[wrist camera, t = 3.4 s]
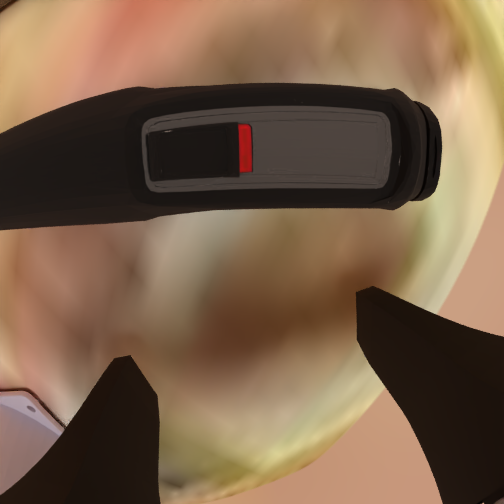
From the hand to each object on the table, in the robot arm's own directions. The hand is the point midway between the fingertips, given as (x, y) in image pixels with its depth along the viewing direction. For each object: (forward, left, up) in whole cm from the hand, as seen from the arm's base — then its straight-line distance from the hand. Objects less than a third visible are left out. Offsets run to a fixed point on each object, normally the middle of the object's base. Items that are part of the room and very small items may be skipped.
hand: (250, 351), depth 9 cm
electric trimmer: (+6, 0, -2) cm, 6 cm away
